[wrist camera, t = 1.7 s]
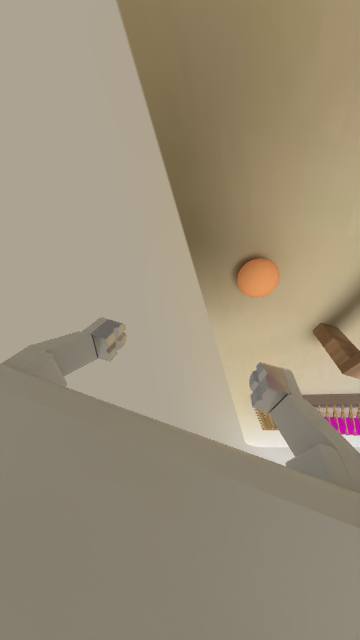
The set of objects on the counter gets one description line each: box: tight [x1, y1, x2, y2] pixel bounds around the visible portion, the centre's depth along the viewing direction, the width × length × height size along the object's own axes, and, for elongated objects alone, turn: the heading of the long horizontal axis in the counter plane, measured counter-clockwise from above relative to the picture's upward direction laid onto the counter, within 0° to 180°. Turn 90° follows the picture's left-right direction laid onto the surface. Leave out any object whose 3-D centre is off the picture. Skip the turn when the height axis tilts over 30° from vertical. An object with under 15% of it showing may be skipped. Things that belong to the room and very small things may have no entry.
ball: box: [237, 258, 279, 298], centre depth 23 cm, size 6×6×6 cm
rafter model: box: [255, 394, 360, 436], centre depth 37 cm, size 35×14×6 cm, turn 115°
